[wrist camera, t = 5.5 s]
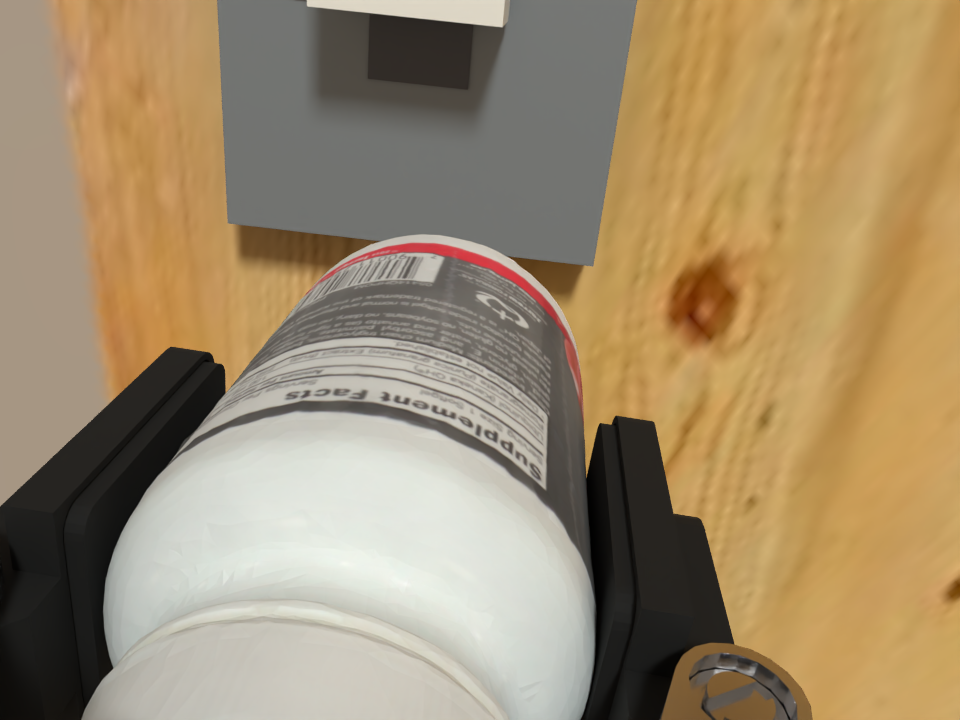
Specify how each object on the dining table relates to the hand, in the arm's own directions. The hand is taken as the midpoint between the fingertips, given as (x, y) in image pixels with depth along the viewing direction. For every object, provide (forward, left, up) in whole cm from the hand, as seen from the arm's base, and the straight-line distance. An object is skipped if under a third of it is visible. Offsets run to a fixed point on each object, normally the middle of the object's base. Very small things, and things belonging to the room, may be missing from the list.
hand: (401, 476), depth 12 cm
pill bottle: (0, 0, -4) cm, 4 cm away
